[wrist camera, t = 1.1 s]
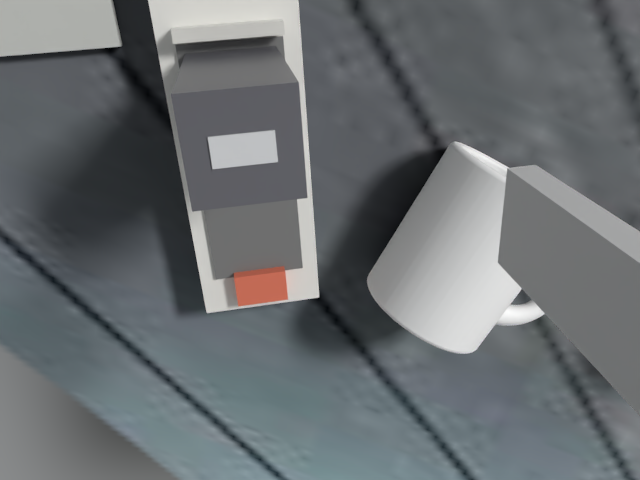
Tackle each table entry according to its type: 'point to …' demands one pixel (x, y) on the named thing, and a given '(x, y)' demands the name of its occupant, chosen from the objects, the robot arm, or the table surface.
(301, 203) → the power strip
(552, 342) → the table surface
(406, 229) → the mug
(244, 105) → the block
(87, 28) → the felt pad
